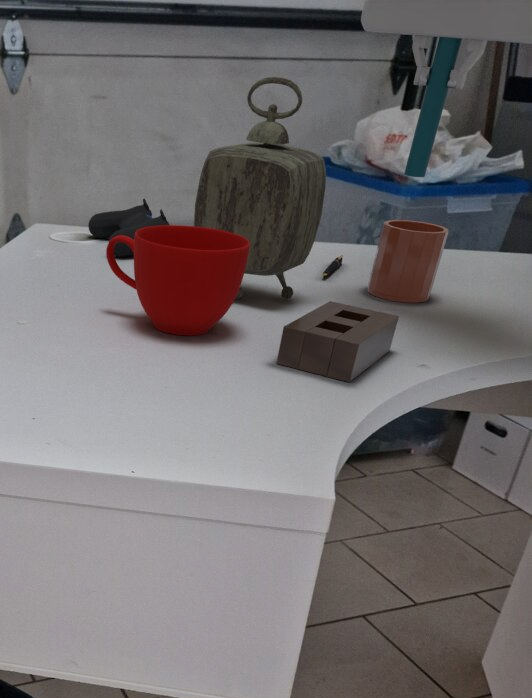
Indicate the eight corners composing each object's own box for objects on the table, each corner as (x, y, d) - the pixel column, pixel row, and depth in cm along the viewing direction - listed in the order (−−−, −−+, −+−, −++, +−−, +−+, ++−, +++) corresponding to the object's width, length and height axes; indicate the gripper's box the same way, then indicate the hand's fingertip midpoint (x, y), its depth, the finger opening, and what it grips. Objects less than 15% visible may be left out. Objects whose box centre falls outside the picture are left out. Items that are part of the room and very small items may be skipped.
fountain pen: (326, 281, 121) (328, 270, 120) (318, 280, 122) (320, 269, 121) (343, 263, 132) (346, 253, 131) (336, 261, 132) (338, 252, 132)
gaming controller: (124, 276, 126) (181, 241, 125) (107, 241, 123) (166, 205, 122) (97, 250, 139) (149, 218, 138) (82, 219, 136) (135, 185, 135)
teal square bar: (426, 176, 100) (465, 36, 92) (421, 178, 98) (460, 35, 90) (407, 173, 101) (443, 34, 93) (401, 175, 99) (437, 34, 91)
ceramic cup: (126, 299, 107) (133, 215, 101) (250, 325, 101) (266, 237, 95) (78, 322, 97) (83, 231, 92) (212, 352, 91) (227, 256, 85)
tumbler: (435, 294, 119) (455, 227, 113) (419, 306, 113) (439, 235, 108) (377, 283, 122) (394, 217, 117) (359, 294, 116) (376, 225, 111)
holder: (389, 350, 95) (399, 315, 93) (349, 382, 86) (359, 344, 83) (322, 335, 99) (329, 300, 97) (276, 363, 89) (283, 326, 87)
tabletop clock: (304, 300, 112) (348, 82, 97) (277, 313, 105) (321, 83, 91) (208, 279, 118) (237, 72, 104) (178, 291, 112) (204, 72, 97)
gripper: (590, -63, 84) (539, 95, 92) (392, -67, 93) (360, 78, 101) (582, -70, 80) (529, 97, 88) (375, -74, 88) (343, 78, 96)
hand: (437, 86), depth 94 cm, fingers closed on teal square bar, 2 cm apart
